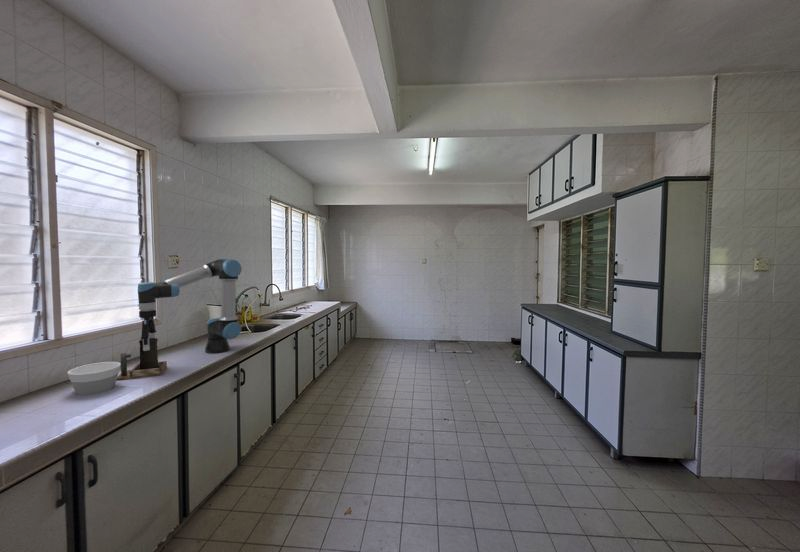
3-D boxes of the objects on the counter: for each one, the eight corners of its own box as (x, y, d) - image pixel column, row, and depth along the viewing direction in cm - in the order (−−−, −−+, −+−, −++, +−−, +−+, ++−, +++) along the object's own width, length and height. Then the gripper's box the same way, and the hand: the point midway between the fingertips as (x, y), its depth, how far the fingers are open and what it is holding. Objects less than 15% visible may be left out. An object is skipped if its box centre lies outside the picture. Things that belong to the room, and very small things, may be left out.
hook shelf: (166, 367, 191) (166, 345, 191) (161, 375, 179) (161, 352, 178) (123, 372, 182) (123, 349, 182) (115, 380, 170) (114, 356, 169)
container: (163, 368, 186) (162, 338, 185) (149, 374, 177) (148, 342, 176) (148, 368, 187) (148, 337, 186) (134, 373, 178) (133, 341, 177)
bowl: (128, 386, 163) (127, 365, 162) (76, 400, 146) (75, 377, 146) (112, 379, 172) (112, 359, 172) (62, 391, 156) (61, 369, 155)
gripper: (144, 307, 190) (146, 342, 191) (132, 314, 168) (134, 354, 169) (160, 306, 193) (162, 341, 195) (150, 313, 171) (152, 352, 172)
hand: (149, 347), depth 182 cm, fingers open, 13 cm apart
